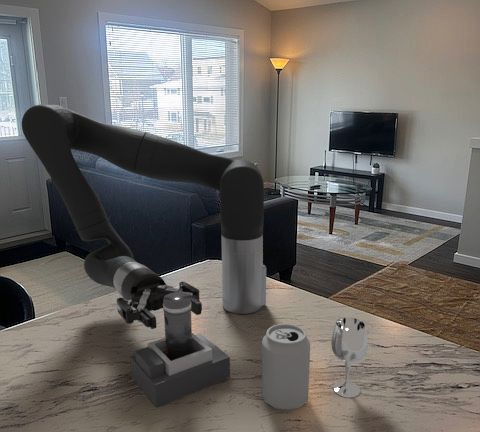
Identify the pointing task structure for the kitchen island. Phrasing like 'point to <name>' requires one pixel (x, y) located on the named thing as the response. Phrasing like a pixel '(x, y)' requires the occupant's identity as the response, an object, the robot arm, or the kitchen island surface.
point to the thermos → (177, 325)
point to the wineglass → (348, 350)
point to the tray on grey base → (178, 369)
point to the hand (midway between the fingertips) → (177, 316)
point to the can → (285, 366)
